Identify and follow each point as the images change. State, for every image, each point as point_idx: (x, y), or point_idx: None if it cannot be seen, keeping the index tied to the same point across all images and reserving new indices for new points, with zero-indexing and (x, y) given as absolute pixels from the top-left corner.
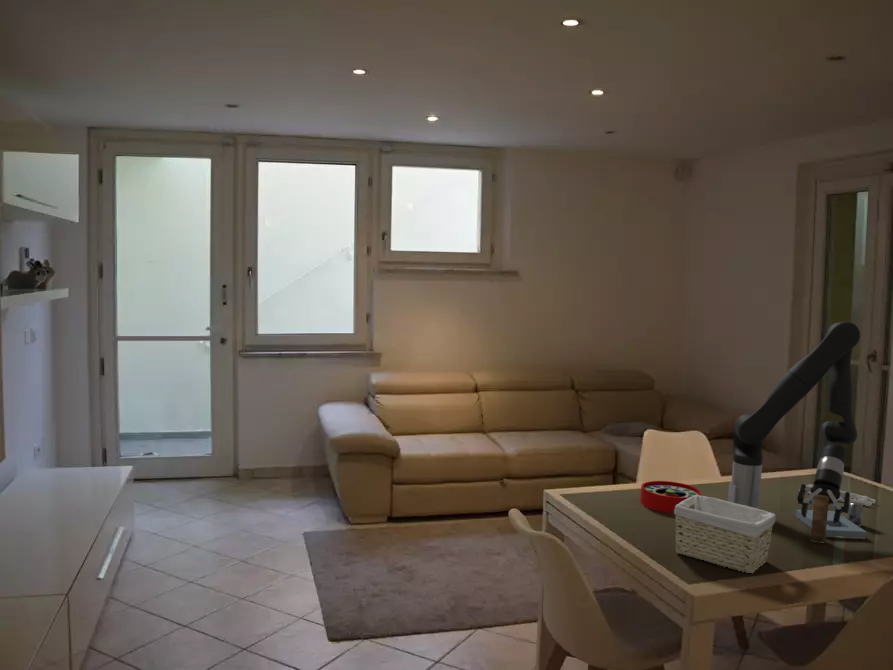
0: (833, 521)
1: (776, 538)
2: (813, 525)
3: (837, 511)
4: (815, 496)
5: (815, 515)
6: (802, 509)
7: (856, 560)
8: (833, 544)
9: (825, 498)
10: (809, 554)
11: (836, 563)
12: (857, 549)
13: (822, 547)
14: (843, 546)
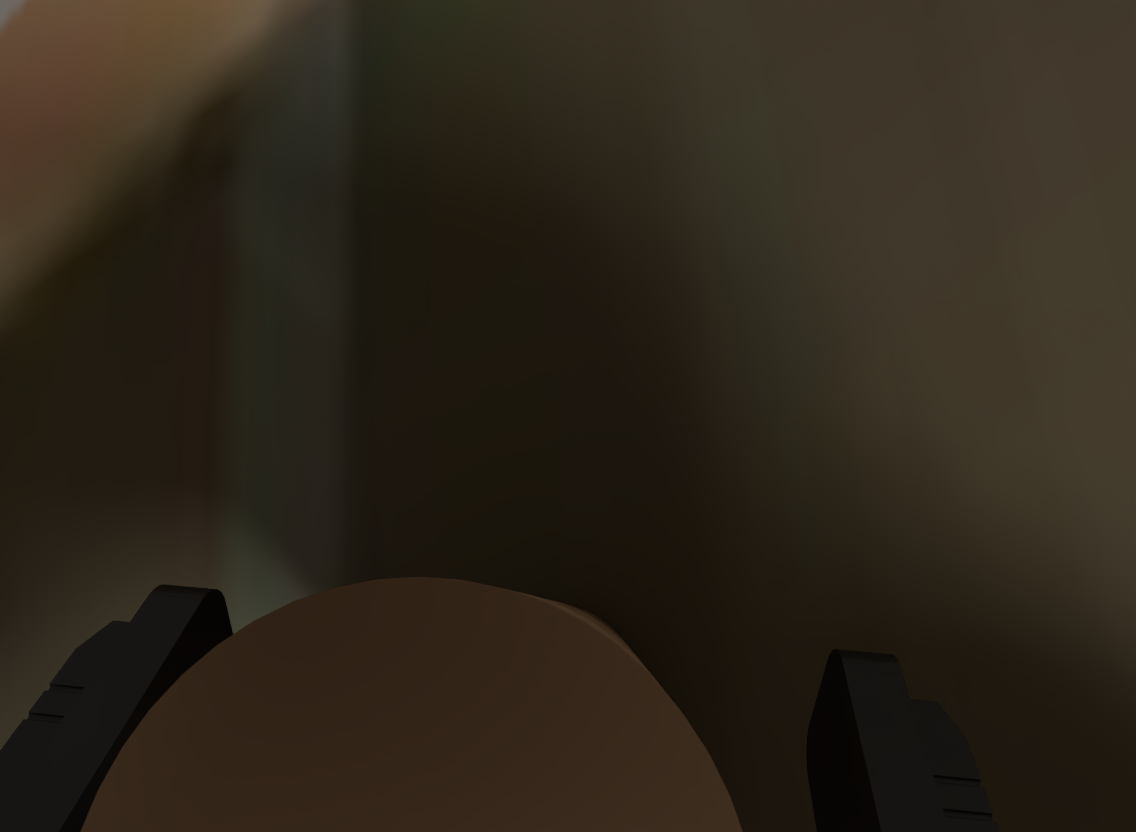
0: (229, 624)
1: (1053, 457)
2: (622, 639)
3: (22, 778)
4: (690, 758)
5: (602, 624)
6: (954, 783)
7: (99, 235)
8: None
9: (223, 690)
10: (593, 108)
11: (309, 7)
12: None
13: (474, 465)
14: None
